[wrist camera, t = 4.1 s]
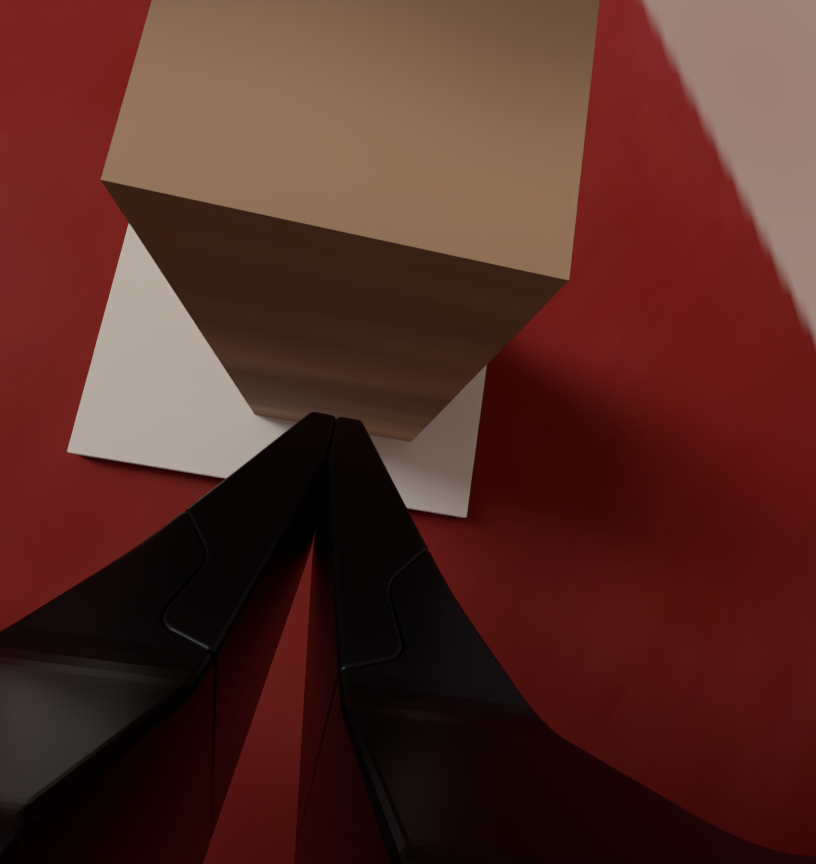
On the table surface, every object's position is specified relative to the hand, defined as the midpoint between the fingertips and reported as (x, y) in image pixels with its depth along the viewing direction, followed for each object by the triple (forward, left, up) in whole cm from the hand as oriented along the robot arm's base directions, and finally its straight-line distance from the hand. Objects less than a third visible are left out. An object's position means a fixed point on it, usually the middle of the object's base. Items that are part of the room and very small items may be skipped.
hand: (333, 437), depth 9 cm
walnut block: (+3, 0, -7) cm, 8 cm away
